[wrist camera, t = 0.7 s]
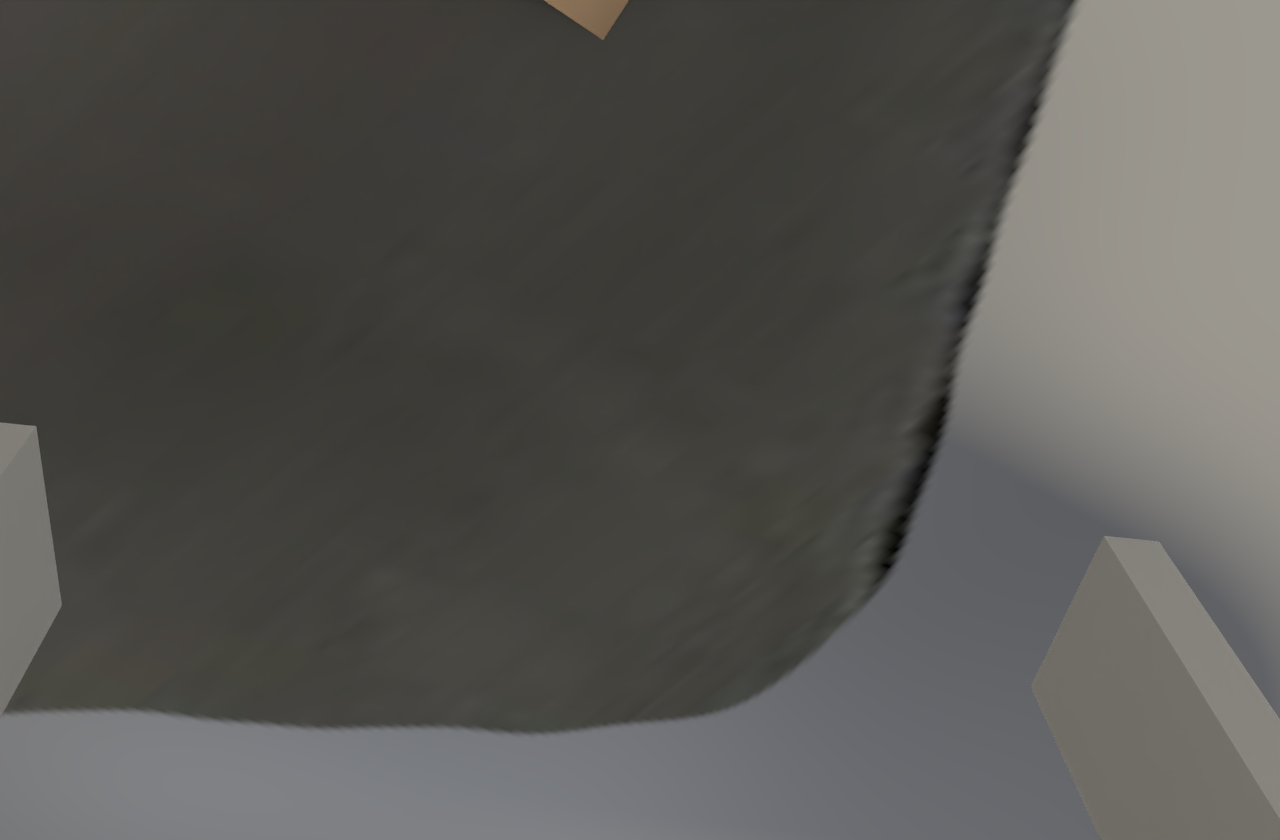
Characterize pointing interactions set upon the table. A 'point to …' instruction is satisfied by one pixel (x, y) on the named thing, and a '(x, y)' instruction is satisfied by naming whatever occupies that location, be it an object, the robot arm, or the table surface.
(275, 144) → the table surface
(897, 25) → the table surface
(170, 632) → the table surface
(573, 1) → the channel
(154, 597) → the table surface
